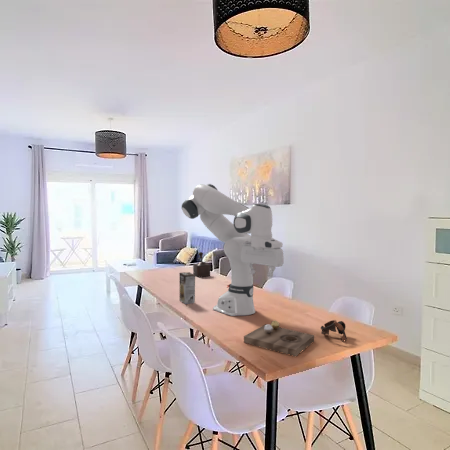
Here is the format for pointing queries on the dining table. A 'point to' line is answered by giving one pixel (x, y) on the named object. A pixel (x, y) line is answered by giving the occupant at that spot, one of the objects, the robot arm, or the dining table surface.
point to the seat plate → (280, 340)
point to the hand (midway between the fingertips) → (261, 275)
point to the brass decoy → (275, 324)
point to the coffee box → (187, 287)
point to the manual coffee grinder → (201, 268)
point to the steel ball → (268, 328)
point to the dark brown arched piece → (334, 328)
